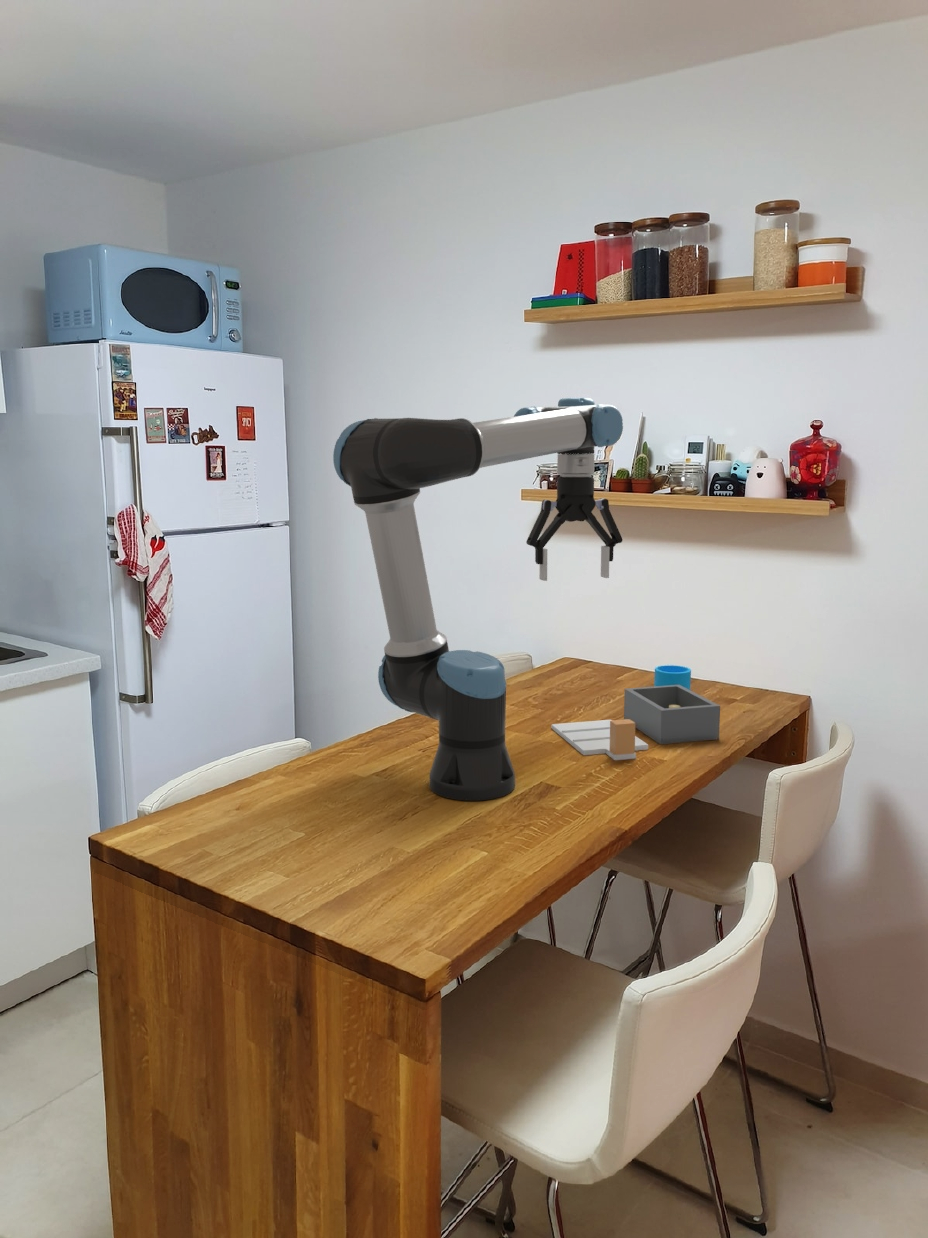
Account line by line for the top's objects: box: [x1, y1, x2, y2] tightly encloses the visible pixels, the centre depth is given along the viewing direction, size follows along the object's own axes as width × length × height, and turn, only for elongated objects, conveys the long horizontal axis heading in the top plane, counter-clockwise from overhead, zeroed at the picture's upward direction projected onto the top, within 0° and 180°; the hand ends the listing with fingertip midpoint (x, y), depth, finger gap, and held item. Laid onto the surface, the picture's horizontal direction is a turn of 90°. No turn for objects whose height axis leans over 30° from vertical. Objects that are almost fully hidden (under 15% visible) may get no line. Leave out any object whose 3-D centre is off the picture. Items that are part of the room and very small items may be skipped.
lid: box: [550, 719, 649, 761], centre depth 193 cm, size 14×23×7 cm, turn 14°
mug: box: [653, 664, 692, 690], centre depth 223 cm, size 12×8×8 cm
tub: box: [623, 685, 721, 745], centre depth 201 cm, size 13×18×7 cm
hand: (574, 578), depth 199 cm, fingers open, 13 cm apart
